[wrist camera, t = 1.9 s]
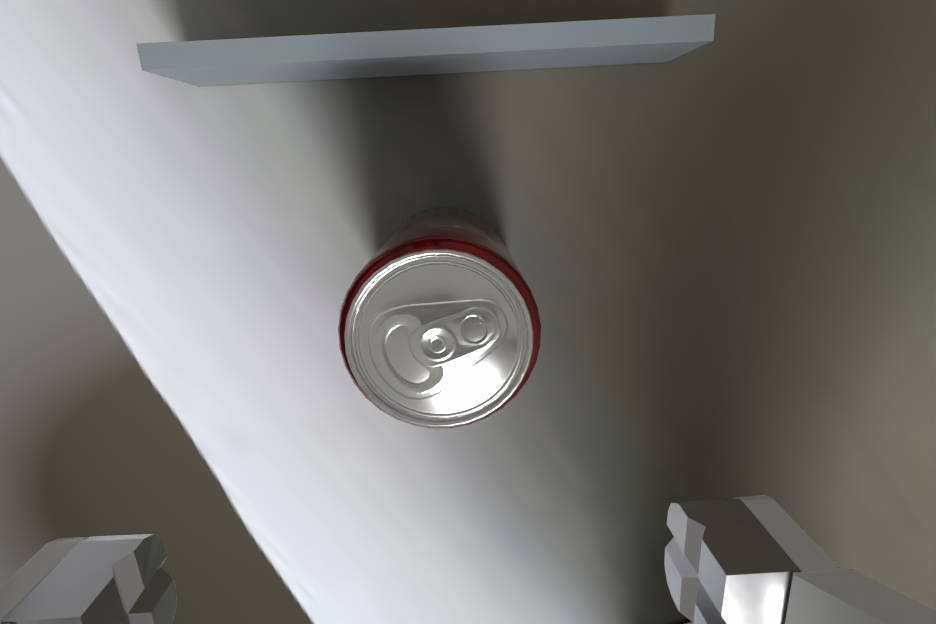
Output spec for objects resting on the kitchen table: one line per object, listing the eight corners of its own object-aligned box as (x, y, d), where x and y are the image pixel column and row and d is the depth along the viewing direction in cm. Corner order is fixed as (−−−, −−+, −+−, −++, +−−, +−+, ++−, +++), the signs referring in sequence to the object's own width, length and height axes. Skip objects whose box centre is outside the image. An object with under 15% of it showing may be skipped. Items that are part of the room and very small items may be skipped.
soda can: (406, 346, 31) (376, 459, 19) (362, 229, 29) (300, 276, 17) (524, 311, 30) (566, 404, 19) (488, 189, 28) (511, 210, 17)
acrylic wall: (667, 40, 26) (715, 14, 21) (666, 62, 26) (713, 40, 22) (195, 65, 26) (136, 43, 21) (199, 86, 26) (142, 70, 21)
